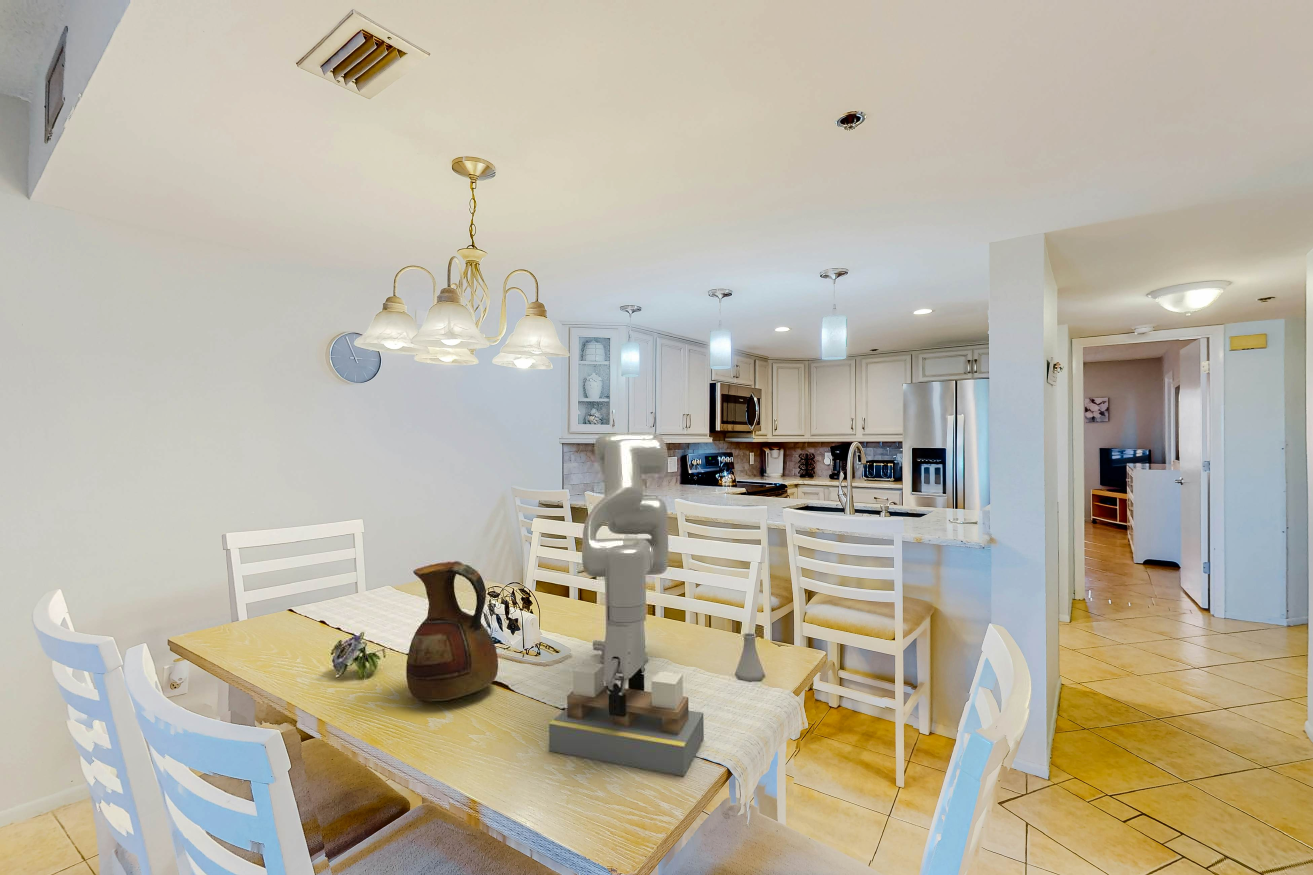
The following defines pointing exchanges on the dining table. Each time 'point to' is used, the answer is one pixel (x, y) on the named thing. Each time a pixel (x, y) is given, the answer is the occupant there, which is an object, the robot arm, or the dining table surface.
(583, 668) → the block
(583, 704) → the pallet
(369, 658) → the passion flower
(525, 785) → the dining table surface
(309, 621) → the dining table surface
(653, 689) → the block
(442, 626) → the ceramic pitcher
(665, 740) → the block
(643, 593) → the robot arm
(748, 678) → the flask
